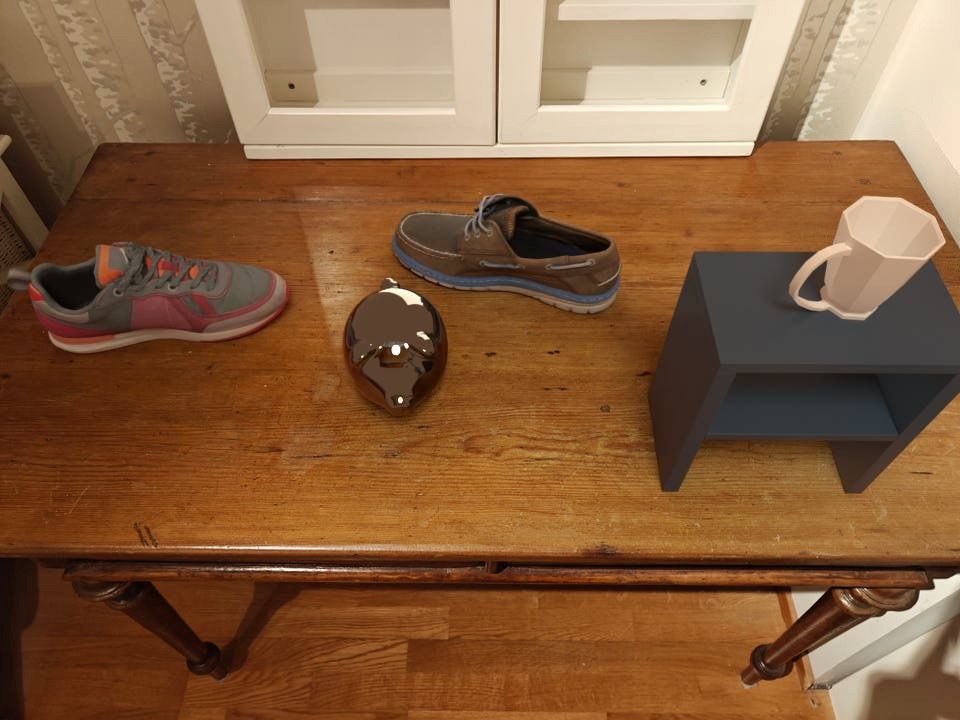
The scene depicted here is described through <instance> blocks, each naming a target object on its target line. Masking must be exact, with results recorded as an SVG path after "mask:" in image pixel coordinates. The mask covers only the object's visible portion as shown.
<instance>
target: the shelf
mask: <svg viewBox="0 0 960 720" xmlns="http://www.w3.org/2000/svg"><path fill="white" fill-rule="evenodd" d="M817 252H818V251H757V250H756V251H755V250H754V251H751V250H750V251H746V250H745V251H742V250H740V251H737V250H736V251H734V250H733V251H732V250H731V251H728V250H727V251H725V250H723V251H722V250H721V251H719V250H716V251H715V250H714V251H713V250H694V251H693V253H692V255H691V256H692V257H691V259H690V262H689V265H688V269H687V272H686V275H685V277H684V280H683V283H682V287H681V290H680V292H679V296H678V299H677V301H676V304H675V309H674V311H673V313H672V317H671V320H670V323H669V325H668V326H669V327H668V329H667V332H666V335H665V338H664V342H663V344H662V347H661V350H660V353H659V355H658V356H659V357H658V359H657V362H656V366H655V368H654V372H653V374H652V377H651V380H650V384H649V387H648V389H647V393H646V396H647V402H648V408H649V414H650V421H651V428H652V434H653V441H654V446H655V453H656V459H657V461H656V462H657V464H658V465H657V466H658V472H659V473H658V474H659V479H660V485H661V492H662V493H665V492H666V493H678V492H679V491H680V489H681V487H682V484H683V482H684V481H685V478H686V477H687V475H688V472H689V470H690V469H691V466H692V464H693V463H694V460H695V458H696V457H697V454H698V451H699V450H700V448H701V446H702V444H703V443H704V440H707V441H708V440H714V441H715V440H717V441H719V440H720V441H721V440H724V441H725V440H728V441H729V440H730V441H734V440H735V441H828V443H829V446H830V450H831V453H832V456H833V459H834V462H835V465H836V468H837V471H838V474H839V478H840V480H841V483H842V487H843V490H844V493H845V494H862V493H863V492H865V491H866V489H867V488H868V487H869V486H870V485H871V484H872V483H873V482H874V481H875V480H876V479H877V478H878V477H879V476H880V475H881V474H882V473H883V472H884V471H885V470H886V469H887V468H888V467H889V466H890V465H891V464H892V463H893V462H894V461H895V459H897V458H898V457H899V456H900V454H902V453H903V451H904V450H905V449H906V448H908V447H909V445H910V444H912V442H913V441H914V440H915V439H916V438H917V437H918V436H919V435H921V433H922V432H923V431H924V430H926V428H927V427H928V426H929V425H930V424H931V423H932V422H933V421H934V420H935V419H936V418H937V417H938V415H940V414H941V412H943V410H944V409H945V408H946V407H947V406H948V405H950V403H951V402H952V401H953V400H954V399H955V398H956V397H957V396H958V395H959V394H960V311H959V309H958V307H957V305H956V304H955V301H954V299H953V297H952V295H951V293H950V291H949V290H948V287H947V285H946V284H945V282H944V280H943V278H942V276H941V274H940V272H939V270H938V268H937V266H936V264H935V262H934V260H933V259H932V257H931V258H930V259H929V260H928V261H927V262H926V263H925V264H924V265H923V266H922V267H921V268H920V269H919V270H918V271H917V272H916V273H915V274H914V275H913V276H912V277H911V278H910V279H909V280H908V281H907V282H906V283H905V284H904V285H903V286H902V287H901V288H899V289H898V290H897V291H896V292H895V293H894V294H893V295H891V296H890V297H889V298H888V299H887V300H885V301H884V302H883V303H882V304H880V305H879V306H878V308H877V309H876V310H875V311H874V312H873V313H872V314H871V315H870V316H869V317H867V318H866V319H865V320H850V319H841V318H840V317H838V316H837V315H836V314H834V313H833V312H831V311H830V310H824V311H814V310H809V309H807V308H804V307H802V306H800V305H798V304H797V303H796V301H795V300H794V299H793V297H792V296H791V295H790V294H789V287H790V283H791V282H792V280H793V278H794V277H795V275H796V273H797V272H798V271H799V270H800V268H801V267H802V266H803V265H804V263H805V262H806V261H807V260H809V259H810V258H811V257H812V256H814V255H815V254H816V253H817ZM827 261H828V260H826V261H825V262H823V263H822V264H821V265H819V266H818V267H817V268H816V269H814V270H813V271H812V273H811V274H810V275H809V276H808V277H807V279H806V280H805V281H804V283H803V284H802V286H801V287H800V289H799V292H798V296H799V297H801V298H803V299H805V300H808V301H815V302H819V301H822V298H821V294H820V290H821V288H822V287H824V286H825V281H824V279H825V273H826V267H827Z"/></svg>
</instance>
